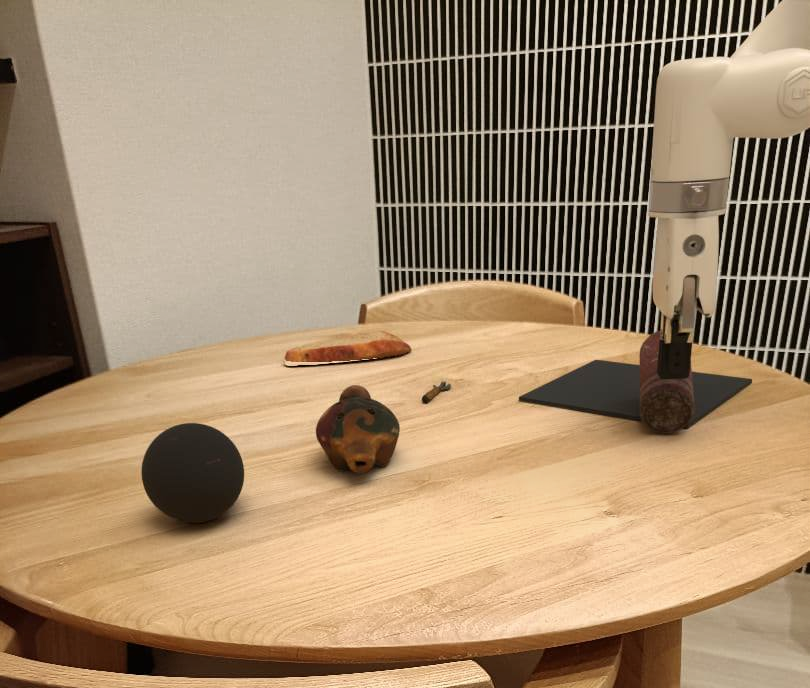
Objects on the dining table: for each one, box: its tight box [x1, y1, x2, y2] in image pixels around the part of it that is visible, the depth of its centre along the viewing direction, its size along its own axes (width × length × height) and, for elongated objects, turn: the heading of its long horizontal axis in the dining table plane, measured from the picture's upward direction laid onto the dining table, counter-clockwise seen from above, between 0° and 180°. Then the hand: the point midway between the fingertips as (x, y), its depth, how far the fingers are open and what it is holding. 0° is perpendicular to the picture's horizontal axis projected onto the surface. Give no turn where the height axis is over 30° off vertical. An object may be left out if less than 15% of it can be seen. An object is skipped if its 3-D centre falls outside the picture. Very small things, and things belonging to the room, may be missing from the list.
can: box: [639, 329, 695, 434], centre depth 100 cm, size 6×6×14 cm
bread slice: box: [283, 330, 412, 362], centre depth 140 cm, size 18×18×4 cm
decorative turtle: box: [315, 384, 401, 474], centre depth 94 cm, size 10×15×8 cm, turn 10°
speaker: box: [141, 422, 245, 524], centre depth 82 cm, size 10×10×10 cm
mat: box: [518, 359, 753, 430], centre depth 113 cm, size 24×22×1 cm
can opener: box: [421, 380, 452, 404], centre depth 118 cm, size 9×2×1 cm, turn 152°
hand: (672, 376), depth 91 cm, fingers closed
